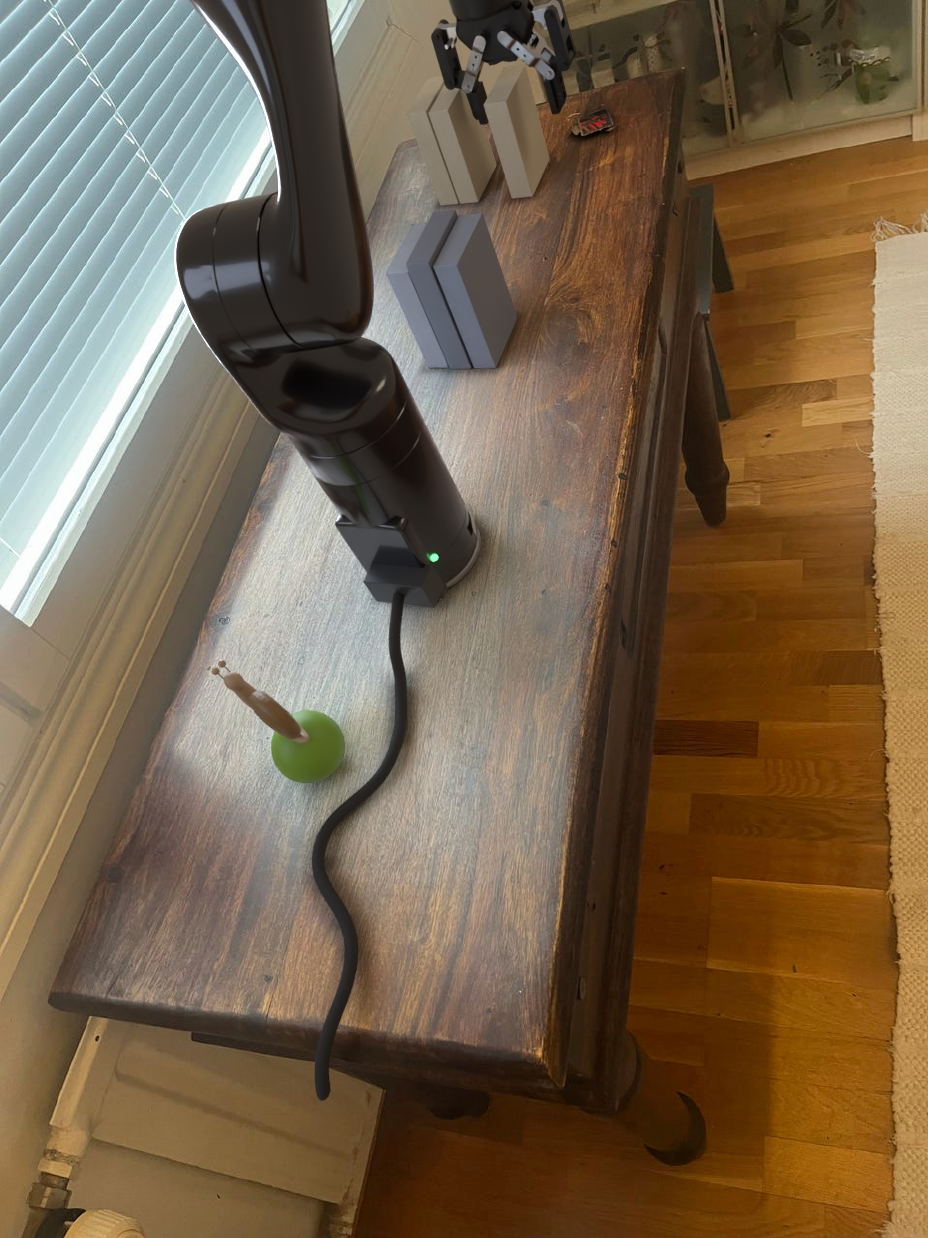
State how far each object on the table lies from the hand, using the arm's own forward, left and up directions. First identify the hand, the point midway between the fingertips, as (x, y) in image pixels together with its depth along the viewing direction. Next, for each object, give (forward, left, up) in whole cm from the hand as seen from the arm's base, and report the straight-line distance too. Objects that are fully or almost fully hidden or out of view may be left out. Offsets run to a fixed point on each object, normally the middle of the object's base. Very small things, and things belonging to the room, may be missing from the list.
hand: (522, 115), depth 100 cm
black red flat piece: (+9, -4, -8) cm, 13 cm away
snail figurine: (-73, -4, -8) cm, 73 cm away
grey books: (-27, -1, -7) cm, 28 cm away
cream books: (0, +9, -7) cm, 12 cm away
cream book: (0, +1, -7) cm, 8 cm away
